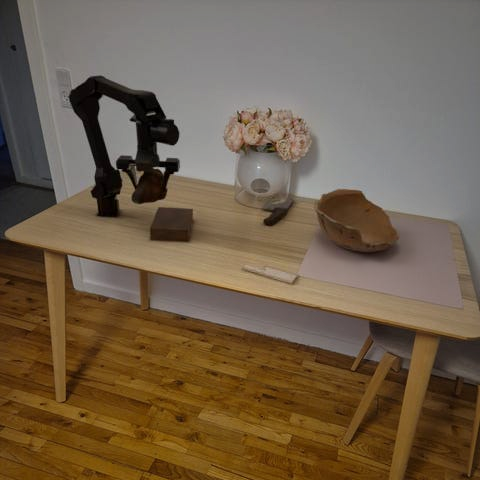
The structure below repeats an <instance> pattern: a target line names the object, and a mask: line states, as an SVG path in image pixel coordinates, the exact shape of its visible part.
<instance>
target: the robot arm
mask: <svg viewBox="0 0 480 480" xmlns="http://www.w3.org/2000/svg"><path fill="white" fill-rule="evenodd" d="M104 96H105V97H106V98H110V99H111V100H114V101H116V102H118V103H121V104H123V105H124V106H125V107H126V109H127V110H128V111H129V112H131V113H132V114H133V115H132V116H131V117H130V118H129V122H130V123H131V122H132V123H135V132H136V143H137V145H136V149H137V150H136V153H135V158H134V157H133V156H132V155H124V154H123V155H122V154H120V155H119V157H118V158H117V159H116V160H115V167H114V166H113V165H112V163H111V159H110V156H109V151H108V149H107V145H106V141H105V139H104V135H103V131H102V128H101V124H100V121H99V116H100V115H99V114H100V109H101V105H100V100H102V98H103V97H104ZM68 101H69V103H70V106H71V108H72V111H73V113H74V115H76V116H77V117H78V118H79V119H80V121H81V122H82V125H83V129H84V132H85V136H86V139H87V142H88V145H89V149H90V152H91V155H92V158H93V159H92V160H93V163H94V165H95V172H94V176H93V179H94V184H95V185H94V186H93V187H92V189H91V190H90V194H91V198H93V199H95V200H96V206H97V213H96V216H97V217H112V218H113V217H115V218H116V217H117V216H118V214H119V213H120V211H121V209H120V202H119V201H120V200H119V199H118V198H117V196H118V195H121V191H122V188H123V182H124V180H123V178H122V176H121V172H122V173H125V174H126V175H127V177H128V178H129V180H130V182H131V184H132V186H133V189H134V191H135V190H136V187H137V185H138V179H137V172H138V173H141V172H144V171H146V172H152V171H153V168H154V169H156V168H164V171H163V175H164V185H163V190H164V192H165V191H166V187H167V188H168V183H169V179H170V177H171V175H175V173H179V171H180V169H181V160H180V159H179V158H178V157H166V159H165V160H161V159H160V158H161V157H160V154H158V143H159V144H163V145H168V146H172V147H173V146H175V145H176V144H178V142H179V140H180V130H179V128H178V126H177V125H176V124H175V120H174V119H173V118H167V116H166V114H165V112H164V110H163V108H162V106H161V104H160V102H159V100H158V98H157V96H156V94H155V93H154V92H153V91H149V90H143V89H133V88H131V87H127V86H125V85H123V84H120V83H118V82H115V81H113V80H111V79H109V78H107V77H105V76H103V75H91V76H89V77H87V78H86V80H85V81H84V82H82V83H80V84H79V85H77V86H76V87H75V88H73V89H71V90H70V91H69V94H68ZM120 170H121V171H120Z"/></svg>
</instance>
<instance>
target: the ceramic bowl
mask: <svg viewBox="0 0 480 480" xmlns="http://www.w3.org/2000/svg"><path fill="white" fill-rule="evenodd" d="M313 209H314V212H316V216H317V220H318V223H319V226H320V228H321V230H322V231H323V233H324V234H325V235H326V236H327V237H328V238H329V239H330V240H331V241H332V242H333V243H335V244H336V245H338V247H339V246H340V247H342V248H344V249H347V250H349V251H354V252H360V253H373V252H380V251H384V250H386V249H388V248H390V247H392V246H394V245H395V244H396V243H397V242H398V240H399V238H400V234H399V233H398V231H397V229H396V228H395V227H394V226H392V222H391V219H390V218H391V217H390V216H389V215H388V214H387V213H386V212H385V211H384V210H383V208H382V207H381V206H378V205H377V204H375V203H373V202H372V201H370V200H369V199H368V198H366V195H365V194H364V193H363V191H362V190H359V189H348V188H337V189H334V190H332V191H329V192H327V193H322V194H321V195H320V198H319V199H318V200H315V201H314V204H313Z"/></svg>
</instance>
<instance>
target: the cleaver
mask: <svg viewBox="0 0 480 480" xmlns="http://www.w3.org/2000/svg"><path fill="white" fill-rule="evenodd" d="M286 198H287V200H286V201H285V202H283V203H278V204H271V203H274V202H277V201H280V200H271V198H270V199H268V200H267V201H266V202H265V203H264V205H262V208H261V209H262V210H264V211H268V212H269V211H270V212H272V213H271V214H269V216H267V217H265V218H264V219H263V220H262V222H263V224H264V225H268V226H269V225H273V224H275V223H276V222H278V221H279V220H281V219H282V218H283V217H284V216H285V215H286V214H287V212H288V210H289V208H291V206H292V205H293V203H294V200H295V199H294V198H292V197H286Z"/></svg>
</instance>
